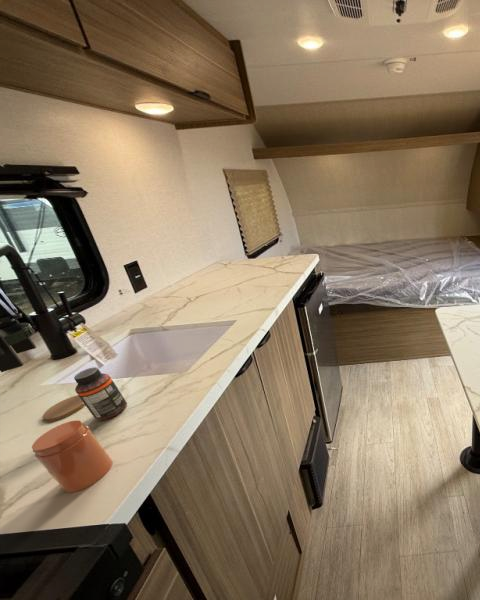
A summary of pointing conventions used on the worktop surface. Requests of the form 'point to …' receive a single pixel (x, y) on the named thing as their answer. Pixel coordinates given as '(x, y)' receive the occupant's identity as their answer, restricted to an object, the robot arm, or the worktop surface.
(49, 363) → the worktop surface
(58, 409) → the coaster
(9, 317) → the robot arm
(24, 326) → the jam lid
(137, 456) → the worktop surface
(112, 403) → the supplement bottle
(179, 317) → the worktop surface
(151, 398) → the worktop surface
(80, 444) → the jam jar
